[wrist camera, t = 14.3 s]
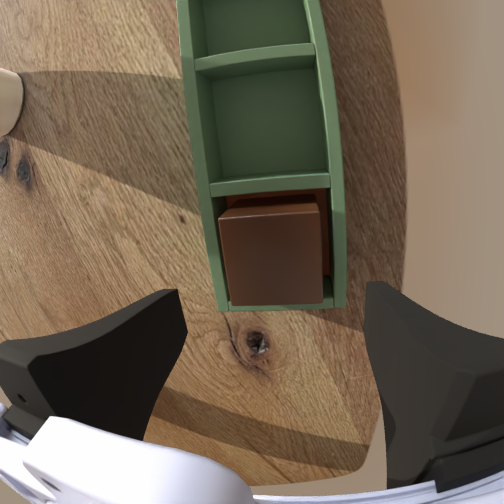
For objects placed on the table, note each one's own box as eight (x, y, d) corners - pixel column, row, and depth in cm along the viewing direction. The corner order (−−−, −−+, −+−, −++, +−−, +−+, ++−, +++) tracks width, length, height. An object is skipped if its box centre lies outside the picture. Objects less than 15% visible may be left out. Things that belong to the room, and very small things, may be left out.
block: (314, 193, 17) (320, 211, 13) (318, 266, 19) (323, 303, 14) (237, 199, 18) (217, 218, 14) (246, 270, 20) (231, 306, 15)
